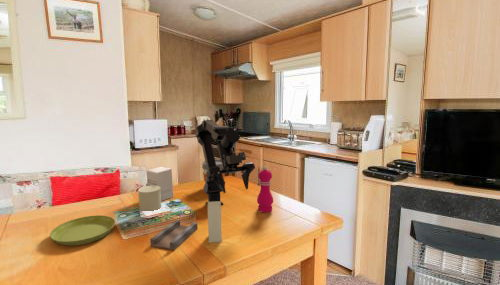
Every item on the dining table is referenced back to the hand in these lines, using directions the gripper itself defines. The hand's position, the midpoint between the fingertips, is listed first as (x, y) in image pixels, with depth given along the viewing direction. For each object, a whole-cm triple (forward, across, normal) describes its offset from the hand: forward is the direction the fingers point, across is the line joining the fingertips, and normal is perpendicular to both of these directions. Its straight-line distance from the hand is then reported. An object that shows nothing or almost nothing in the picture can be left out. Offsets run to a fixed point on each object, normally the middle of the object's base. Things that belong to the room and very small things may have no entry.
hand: (236, 191), depth 104 cm
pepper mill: (+6, +18, +17) cm, 25 cm away
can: (-5, -28, +32) cm, 43 cm away
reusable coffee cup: (-16, +7, +48) cm, 52 cm away
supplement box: (-16, -22, +47) cm, 54 cm away
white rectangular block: (+15, -10, +5) cm, 19 cm away
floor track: (+10, -23, +11) cm, 27 cm away
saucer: (0, -53, +26) cm, 59 cm away
